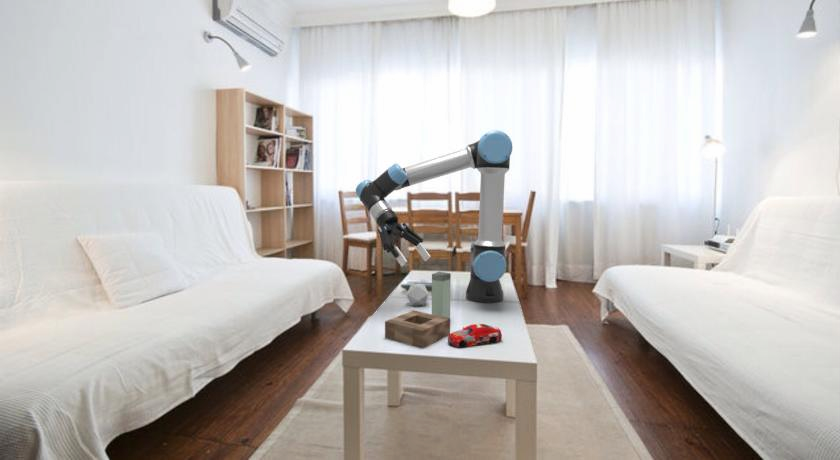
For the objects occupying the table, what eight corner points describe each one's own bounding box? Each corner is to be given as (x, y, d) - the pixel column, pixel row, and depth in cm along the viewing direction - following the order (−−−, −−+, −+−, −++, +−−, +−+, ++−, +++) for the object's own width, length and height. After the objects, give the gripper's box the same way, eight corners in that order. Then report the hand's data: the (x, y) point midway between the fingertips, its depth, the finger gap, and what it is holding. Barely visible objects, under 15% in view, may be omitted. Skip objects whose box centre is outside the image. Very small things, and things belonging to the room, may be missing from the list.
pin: (439, 317, 145) (439, 271, 144) (450, 319, 143) (450, 273, 141) (431, 320, 142) (431, 273, 140) (442, 323, 139) (443, 275, 137)
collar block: (413, 325, 136) (413, 310, 136) (450, 334, 128) (450, 318, 128) (385, 337, 125) (384, 321, 125) (423, 348, 117) (423, 330, 117)
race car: (453, 350, 116) (453, 333, 116) (444, 342, 123) (444, 325, 122) (505, 343, 122) (505, 326, 121) (493, 335, 128) (494, 320, 127)
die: (420, 310, 156) (434, 288, 158) (401, 298, 157) (414, 276, 159) (420, 312, 164) (433, 291, 166) (401, 300, 165) (414, 279, 167)
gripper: (400, 221, 165) (430, 263, 158) (354, 224, 145) (387, 273, 138) (411, 208, 162) (443, 250, 154) (365, 210, 142) (399, 259, 134)
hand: (416, 261), depth 146 cm, fingers open, 13 cm apart
